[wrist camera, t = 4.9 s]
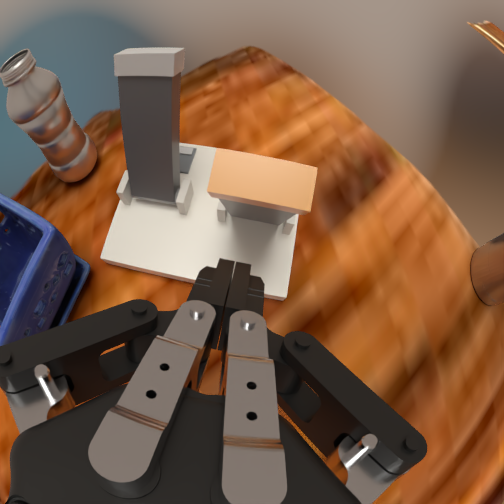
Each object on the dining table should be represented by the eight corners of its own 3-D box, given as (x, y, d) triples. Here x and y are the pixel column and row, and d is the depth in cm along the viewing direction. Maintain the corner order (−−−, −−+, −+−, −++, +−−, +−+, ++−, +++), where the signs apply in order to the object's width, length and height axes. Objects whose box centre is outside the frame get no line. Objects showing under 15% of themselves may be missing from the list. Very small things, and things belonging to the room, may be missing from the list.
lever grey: (138, 189, 32) (127, 48, 19) (182, 196, 32) (185, 48, 19) (130, 202, 30) (113, 54, 18) (175, 210, 30) (174, 53, 18)
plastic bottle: (110, 163, 35) (51, 44, 16) (72, 197, 33) (-10, 93, 14) (88, 141, 36) (34, 35, 17) (54, 172, 34) (-17, 76, 15)
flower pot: (38, 223, 32) (-14, 180, 20) (107, 265, 31) (55, 224, 20) (-2, 310, 28) (-64, 290, 16) (62, 366, 27) (-5, 367, 15)
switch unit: (149, 148, 36) (141, 125, 31) (301, 173, 36) (309, 151, 32) (107, 263, 31) (89, 249, 26) (282, 300, 31) (292, 292, 26)
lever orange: (233, 196, 31) (216, 147, 15) (283, 206, 31) (317, 167, 15) (229, 218, 31) (206, 191, 15) (279, 228, 31) (310, 211, 15)
